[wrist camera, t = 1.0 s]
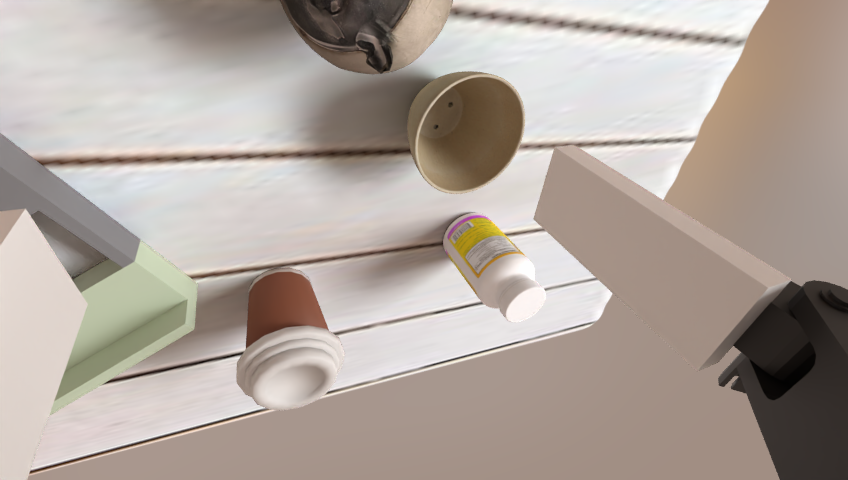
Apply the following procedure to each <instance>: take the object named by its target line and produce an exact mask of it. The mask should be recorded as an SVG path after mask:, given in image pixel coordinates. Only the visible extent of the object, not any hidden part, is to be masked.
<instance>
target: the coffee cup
mask: <svg viewBox="0 0 848 480" xmlns="http://www.w3.org/2000/svg"><path fill="white" fill-rule="evenodd" d="M248 299H249V303H248V320H247V338H246V350H245V351H244V353H243V354H242V356H241V357H240V359H239V360H238V362H237V384H238V385H239V386H240V388H241V389H242V390H243V392H244V393H245V394H246V395H248V396H251V397H252V398H253V399H254V401H255V402H256V403H257V404H258V405H260V406H263V407H265V408H268V409H270V410H289V409H294V408H300V407H302V406H305V405H307V404H310V403H312V402H314V401H316V400H317V399H319V398H320V397H322V396H323V395H324V394H326V393H327V392H328V391H329V389H330V388H331V387H332V385H333V384H334V383H335V381H336V377H337V373H338V372H339V371H340V370H341V368H342V364H343V360H344V356H345V353H344V349H343V347H342V344H341V342H340V339H339V337H337V336H336V335H335V334H333V333H332V332H330V331H329V330H328V327H327V324H326V322H325V319H324V317H323V314H322V312H321V309H320V306H319V304H318V301H317V299H316V296H315V294H314V291H313V288H312V285H311V282H310V280H309V277H308V276H306V275H305V274H304V273H303V272H301V271H299V270H296V269H292V268H276V269H273V270H269V271H266V272H264V273H263V274H261V275H260V276H258V277H257V278H256V279H254V281H253V282H252V284H251V286H250V287H249V296H248Z"/></svg>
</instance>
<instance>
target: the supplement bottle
mask: <svg viewBox="0 0 848 480" xmlns="http://www.w3.org/2000/svg"><path fill="white" fill-rule="evenodd" d="M443 246H444V250H445V252H446V253H447V255H448V256H449V258H450V259H451V261H452V262H453V263H454V265H455V266H456V267H457V269H458V270H459V271H460V273H461V274H462V276H463V277H464V278H465V280H466V281H467V282H468V284H469V285H470V287H471V288H472V289H473V291H474V292H475V294H476V295H477V296H478V298H479V299H480V300H481V302H482V303H483V304H485V305H486V306H488V307H491V308H499V309H500V312H501V313H502V314H503V316H504V317H505V318H506V319H507V320H508V321H510V322H513V323H516V322H521V321H524V320H526V319H528V318H530V317H531V316H533V315H534V314H535V313H536V312H537V311H538V310H539V309H540V308H541V307H542V305H543V304H544V302H545V299H546V292H545V290H544V289H543V288H542V287H541V286H540V285H539V283H538V282H537V281H534V278H535V270H534V266H533V264H532V263H531V261H530V260H529V259H528V258H527V257H526V256H525V255H524V254H523V253H522V252H521V251H520V250H519V249H518V248H517V247H516V246H515V245H514V244H513V243H512V242H511V241H510V240H509V239H508V238H507V237H506V235H505V234H504V233H503V232H502V231H501V230H500V229H499V228H498V227H497V226H496V225H495V224H494V223H493V222H492V221H491V220H490V219H489V218H488V217H486V216H485V215H483V214H480V213H469V214H466V215H463V216H461V217H459V218H458V219H456V220H455V221H454V222H453V223H452V224H451V225H450V226H449V227H448V229H447V230H446V232H445V235H444V239H443Z"/></svg>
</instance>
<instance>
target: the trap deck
mask: <svg viewBox="0 0 848 480" xmlns="http://www.w3.org/2000/svg"><path fill="white" fill-rule="evenodd" d="M25 208H26V210H27V211H28V213H29V214H30V215H32V214H34V213H36V212H37V211H40V212H41V213H43V214H44V215H46V216H47V217H49V218H50V219H52V220H53V221H55V222H56V223H58V224H59V225H61V226H62V227H63V228H65V229H66V230H68V231H69V232H71V233H72V234H74V235H75V236H77V237H78V238H80V239H81V240H83V241H84V242H86V243H87V244H89V245H90V246H91V247H93V248H94V249H96V250H97V251H99V252H100V253H102V254H103V255H105V256H106V257H108V258H109V259H107V260H105V261H103V262H102V263H100V264H98V265H96V266H95V267H93V268H91V269H90V270H88V271H86V272H84V273H83V274H81V275H79V276H77V277H76V278H74V279H72V281H73V282H74V284H75V285H76V287H77V288H78V290H79V291H80V293H81V294H82V296H83V298H84V299H85V301H86V302H87V304H88V305H87V308H86V311H85V314H84V317H83V319H82V322H81V325H80V328H79V331H78V334H77V337H76V340H75V343H74V345H73V348H72V351H71V354H70V357H69V360H68V363H67V366H66V369H65V371H64V374H63V377H62V380H61V383H60V386H59V389H58V392H57V395H56V397H55V400H54V403H53V406H52V409H51V412H50V415H51V414H53V413H55V412H56V411H58V410H60V409H61V408H63V407H65V406H66V405H68V404H70V403H72V402H73V401H75V400H77V399H78V398H80V397H82V396H83V395H85V394H87V393H88V392H90V391H92V390H93V389H95V388H97V387H98V386H100V385H102V384H104V383H105V382H107V381H109V380H110V379H112V378H114V377H115V376H117V375H119V374H120V373H122V372H124V371H125V370H127V369H129V368H131V367H132V366H134V365H136V364H137V363H139V362H141V361H142V360H144V359H146V358H147V357H149V356H151V355H152V354H154V353H156V352H158V351H159V350H161V349H163V348H164V347H166V346H168V345H169V344H171V343H173V342H174V341H176V340H178V339H179V338H181V337H183V336H185V335H186V334H188V333H190V332H191V331H193V330H194V329H195V316H196V303H197V290H198V283H196V282H195V281H194V280H192V279H191V278H190V277H189V276H187V275H186V274H185V273H183V272H182V271H181V270H179V269H178V268H177V267H175V266H174V265H173V264H171V263H170V262H169V261H167V260H166V259H165V258H164V257H162V256H161V255H160V254H158V253H157V252H156V251H154V250H153V249H152V248H150V247H149V246H148V245H146V244H145V243H144V242H143V241H141V240H140V239H139V238H137V237H136V236H135V235H133V234H132V233H131V232H129V231H128V230H127V229H125V228H124V227H123V226H121V225H120V224H119V223H118V222H116V221H115V220H114V219H112V218H111V217H110V216H108V215H107V214H106V213H104V212H103V211H102V210H100V209H99V208H98V207H97V206H95V205H94V204H93V203H91V202H90V201H89V200H87V199H86V198H85V197H83V196H82V195H81V194H79V193H78V192H77V191H75V190H74V189H73V188H72V187H70V186H69V185H68V184H66V183H65V182H64V181H62V180H61V179H60V178H58V177H57V176H56V175H54V174H53V173H52V172H50V171H49V170H48V169H47V168H45V167H44V166H43V165H41V164H40V163H39V162H37V161H36V160H35V159H33V158H32V157H31V156H29V155H28V154H27V153H26V152H24V151H23V150H22V149H20V148H19V147H18V146H16V145H15V144H14V143H12V142H11V141H10V140H8V139H7V138H6V137H4V136H3V135H2V134H1V133H0V211H8V210H17V209H25ZM50 415H49V416H50Z"/></svg>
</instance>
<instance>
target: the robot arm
mask: <svg viewBox="0 0 848 480" xmlns="http://www.w3.org/2000/svg"><path fill="white" fill-rule="evenodd" d="M534 220H535V221H536V222H537V223H538V224H539V225H540V226H541V227H543V228H544V229H545V230H546V231H547V232H548V233H549V234H550V235H551V236H552V237H553V238H554V239H555V240H556V241H558V242H559V243H560V244H561V245H562V246H563V247H564V248H565V249H566V250H567V251H568V252H569V253H570V254H571V255H573V256H574V257H575V258H576V259H577V260H578V261H579V262H580V263H581V264H582V265H583V266H584V267H585V268H586V269H588V270H589V271H590V272H591V273H592V274H593V275H594V276H595V277H596V278H597V279H598V280H599V281H600V282H601V283H603V284H604V285H605V286H606V287H607V288H608V289H609V290H610V291H611V292H612V293H613V294H614V295H615V296H616V297H618V298H619V299H620V300H621V301H622V302H623V303H624V304H625V305H626V306H627V307H628V308H629V309H630V310H632V311H633V312H634V313H635V314H636V315H637V316H638V317H639V318H640V319H641V320H642V321H643V322H644V323H645V324H647V325H648V326H649V327H650V328H651V329H652V330H653V331H654V332H655V333H656V334H657V335H658V336H659V337H661V338H662V339H663V340H664V341H665V342H666V343H667V344H668V345H669V346H670V347H671V348H672V349H673V350H674V351H675V352H677V353H678V354H679V355H680V356H681V357H682V358H683V359H684V360H685V361H686V362H687V363H688V364H689V365H691V366H692V367H693V368H694V369H695V370H696V371H700V370H702V369H704V368H706V367H709V366H711V365H713V364H716V363H718V362H719V361H720V360H721V359H722V357H724V355H725V354H726V353H727V352H728V351H729V350H730V349H731V348H732V346H735V347H736V348H737V349H738V350H739V351H741V353H740V354H739V356H737V357H736V359H735V360H734V361H733V362H732V363H731V364H730V365H729V366H728V367H727V368H726V369H725V370H724V371H723V373H722V374H721V375H720V376H719V378H718V381H719V386H722V387H724V386H725V385H726V384H727V383H728V382H729V381H730V380H731V379H732V378H733V377H734V376H739V377H738V378H737V379H736V380H735V381H734V383H733V384H732V386H731V389H733V390H736V391H740V392H743V393H746V394H747V396H748V399H749V401H750V404H751V406H752V409H753V412H754V414H755V417H756V419H757V422H758V424H759V427H760V430H761V432H762V435H763V437H764V440H765V442H766V445H767V447H768V450H769V452H770V455H771V458H772V460H773V463H774V465H775V468H776V471H777V473H778V476H779V478H780V480H848V290H847V289H845V288H842V287H841V286H837V285H834V284H831V283H828V282H822V281H815V280H814V281H809V282H806V283H805V284H804V285H803V286H802V287H801V286H799V285H797V284H795V283H793V282H792V281H791V279H790V278H788V277H787V276H785V275H784V274H782V273H780V272H779V271H777V270H775V269H774V268H772V267H771V266H769V265H767V264H766V263H764V262H762V261H761V260H759V259H758V258H756V257H754V256H753V255H751V254H750V253H748V252H746V251H745V250H743V249H741V248H740V247H738V246H736V245H735V244H733V243H732V242H730V241H728V240H727V239H725V238H724V237H722V236H720V235H719V234H717V233H716V232H714V231H712V230H711V229H709V228H707V227H706V226H704V225H702V224H701V223H699V222H697V221H696V220H694V219H693V218H691V217H690V216H688V215H686V214H685V213H683V212H681V211H680V210H678V209H677V208H675V207H674V206H671V205H670V204H669V203H667V202H665V201H664V200H662V199H661V198H659V197H657V196H656V195H654V194H652V193H651V192H649V191H648V190H646V189H644V188H643V187H641V186H640V185H638V184H636V183H635V182H633V181H631V180H630V179H628V178H627V177H625V176H623V175H622V174H620V173H618V172H617V171H615V170H614V169H612V168H610V167H609V166H607V165H606V164H604V163H602V162H601V161H599V160H597V159H596V158H594V157H593V156H591V155H589V154H588V153H586V152H584V151H583V150H581V149H580V148H578V147H576V146H575V145H569V146H561V147H555V148H554V152H553V155H552V158H551V162H550V165H549V168H548V172H547V175H546V179H545V182H544V185H543V189H542V192H541V195H540V199H539V202H538V205H537V209H536V212H535V216H534ZM87 305H88V304H87V302H86V301H85V299H84V298H83V296H82V294H81V293H80V291H79V290H78V288H77V287H76V285H75V284H74V282H73V281H72V279H71V277H70V276H69V274H68V273H67V271H66V270H65V268H64V267H63V265H62V264H61V262H60V261H59V259H58V257H57V256H56V254H55V253H54V251H53V250H52V248H51V247H50V245H49V244H48V242H47V241H46V239H45V237H44V236H43V234H42V233H41V231H40V230H39V228H38V227H37V225H36V224H35V222H34V221H33V219H32V217H31V216H30V214H29V213H28V211H27V210H26V208H25V209H17V210H8V211H0V480H27V478H28V475H29V473H30V470H31V467H32V464H33V461H34V458H35V455H36V452H37V449H38V447H39V444H40V441H41V438H42V435H43V432H44V429H45V426H46V423H47V421H48V418H49V415H50V412H51V409H52V406H53V403H54V400H55V397H56V395H57V392H58V389H59V386H60V383H61V380H62V377H63V374H64V371H65V369H66V366H67V363H68V360H69V357H70V354H71V351H72V348H73V345H74V343H75V340H76V337H77V334H78V331H79V328H80V325H81V322H82V319H83V317H84V314H85V311H86V308H87Z"/></svg>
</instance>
